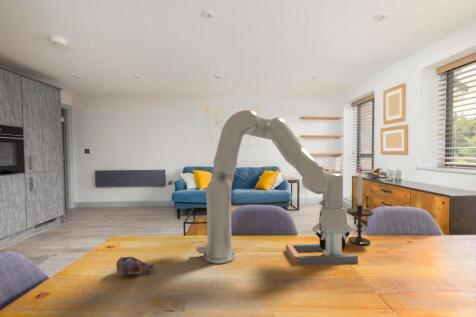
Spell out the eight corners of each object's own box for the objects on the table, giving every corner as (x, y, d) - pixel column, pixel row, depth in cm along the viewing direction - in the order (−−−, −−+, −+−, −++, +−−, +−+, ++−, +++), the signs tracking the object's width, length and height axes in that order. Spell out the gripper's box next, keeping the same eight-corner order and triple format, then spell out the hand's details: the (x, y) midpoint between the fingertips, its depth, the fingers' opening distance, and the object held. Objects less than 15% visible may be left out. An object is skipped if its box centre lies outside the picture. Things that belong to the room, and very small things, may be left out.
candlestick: (367, 238, 119) (368, 165, 118) (376, 247, 108) (377, 167, 107) (343, 237, 120) (344, 165, 119) (349, 245, 110) (350, 166, 109)
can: (324, 251, 104) (324, 222, 104) (342, 254, 101) (342, 225, 100) (321, 257, 98) (321, 227, 97) (341, 261, 94) (341, 230, 94)
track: (294, 264, 92) (294, 256, 92) (286, 250, 105) (286, 243, 105) (357, 262, 93) (358, 254, 93) (341, 249, 106) (341, 242, 106)
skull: (155, 268, 90) (155, 251, 89) (149, 279, 82) (149, 261, 82) (121, 269, 89) (121, 252, 88) (112, 281, 81) (111, 262, 81)
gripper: (314, 206, 94) (314, 252, 95) (358, 205, 95) (358, 251, 96) (307, 202, 102) (307, 245, 102) (349, 201, 103) (348, 244, 103)
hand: (332, 248), depth 99 cm, fingers closed on can, 7 cm apart
